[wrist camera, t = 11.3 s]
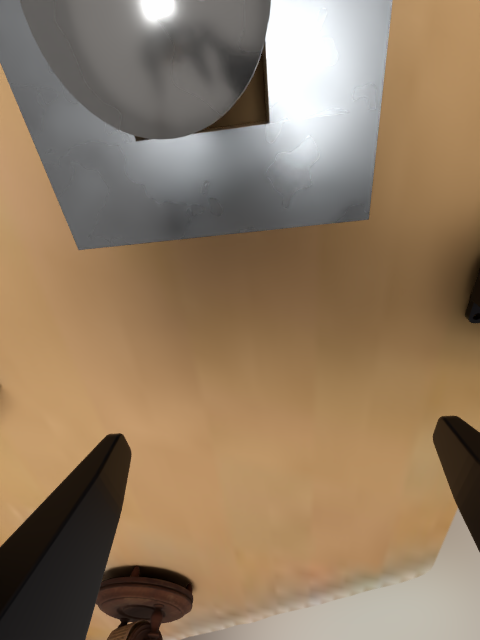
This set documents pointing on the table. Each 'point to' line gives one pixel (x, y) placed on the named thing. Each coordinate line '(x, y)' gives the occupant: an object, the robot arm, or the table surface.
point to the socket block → (220, 137)
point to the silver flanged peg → (152, 58)
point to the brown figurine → (142, 605)
